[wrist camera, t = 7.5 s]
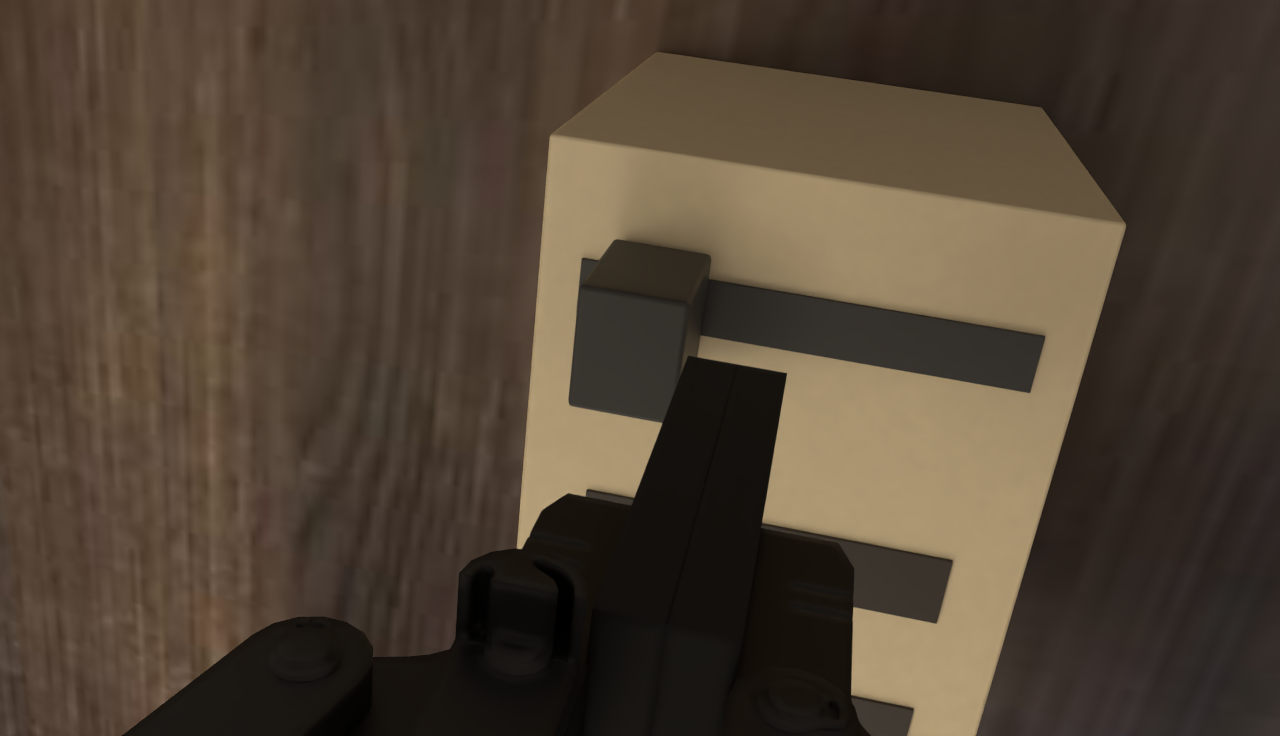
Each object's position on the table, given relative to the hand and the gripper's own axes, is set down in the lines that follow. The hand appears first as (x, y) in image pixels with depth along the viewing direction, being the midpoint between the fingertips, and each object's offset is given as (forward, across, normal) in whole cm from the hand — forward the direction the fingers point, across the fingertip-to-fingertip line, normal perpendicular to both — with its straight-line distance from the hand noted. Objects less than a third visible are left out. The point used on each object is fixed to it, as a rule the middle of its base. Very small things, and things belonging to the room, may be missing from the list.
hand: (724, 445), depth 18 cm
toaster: (+18, +1, -5) cm, 19 cm away
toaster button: (+6, -2, 0) cm, 6 cm away
